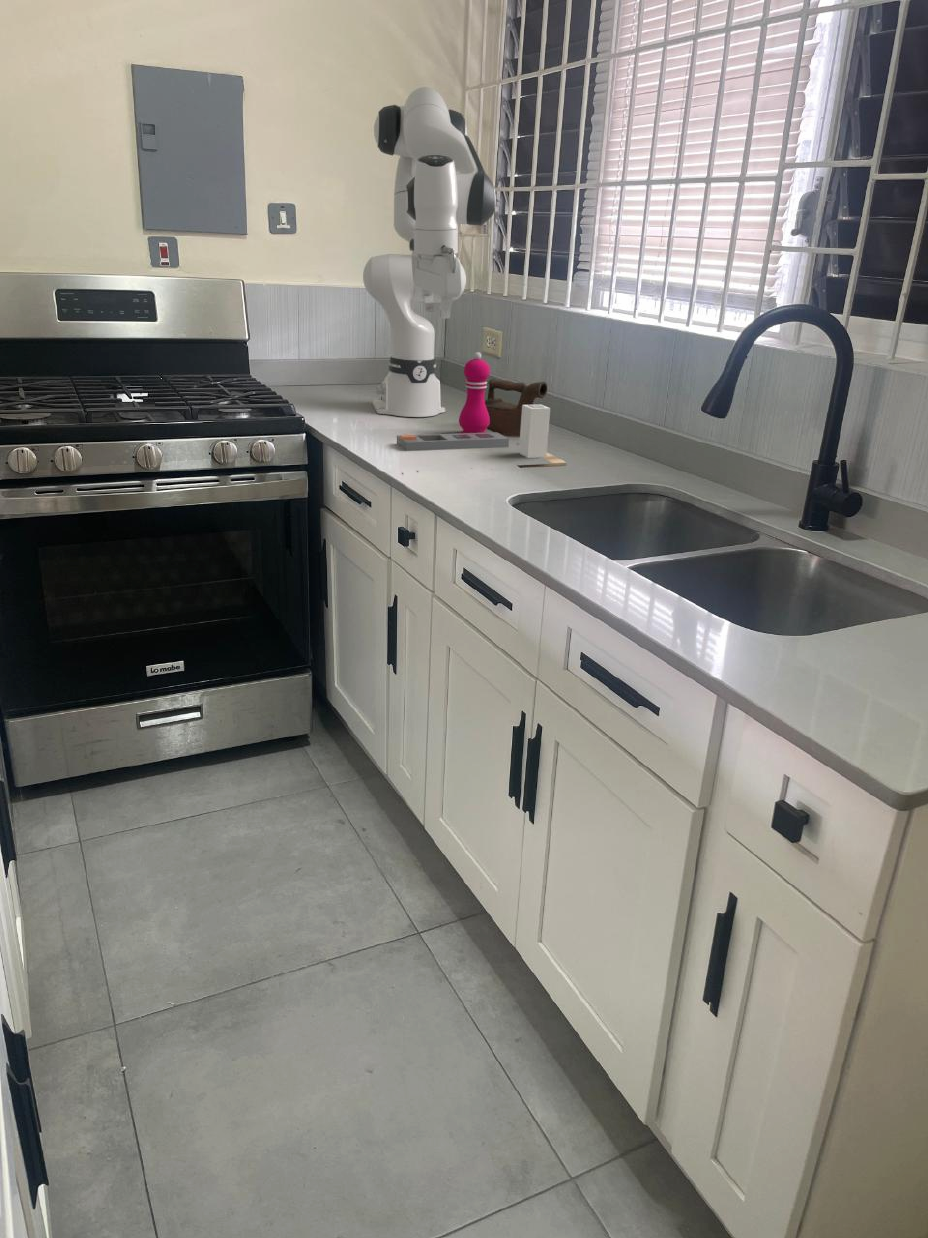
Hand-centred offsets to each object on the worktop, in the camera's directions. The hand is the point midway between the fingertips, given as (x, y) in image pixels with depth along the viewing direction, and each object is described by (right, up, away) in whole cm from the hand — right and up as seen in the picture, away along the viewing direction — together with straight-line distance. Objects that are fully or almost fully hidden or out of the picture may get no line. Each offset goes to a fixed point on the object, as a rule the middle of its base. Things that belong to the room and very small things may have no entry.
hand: (437, 314), depth 196 cm
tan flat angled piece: (+21, -30, +6) cm, 37 cm away
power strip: (+7, -26, +13) cm, 30 cm away
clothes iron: (+17, -19, +33) cm, 41 cm away
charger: (+21, -29, +6) cm, 36 cm away
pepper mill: (+8, -22, +23) cm, 33 cm away
